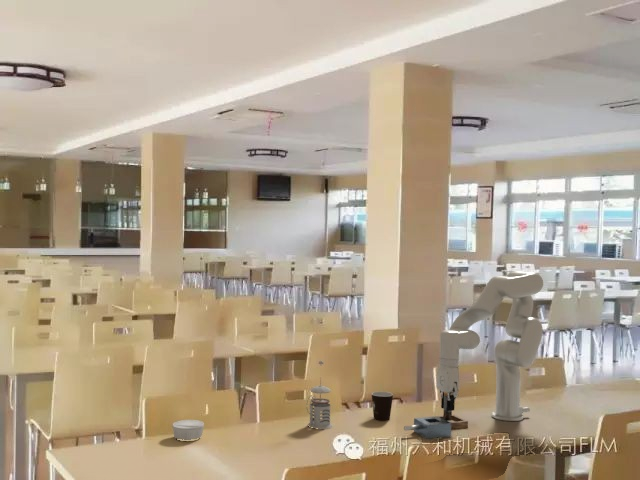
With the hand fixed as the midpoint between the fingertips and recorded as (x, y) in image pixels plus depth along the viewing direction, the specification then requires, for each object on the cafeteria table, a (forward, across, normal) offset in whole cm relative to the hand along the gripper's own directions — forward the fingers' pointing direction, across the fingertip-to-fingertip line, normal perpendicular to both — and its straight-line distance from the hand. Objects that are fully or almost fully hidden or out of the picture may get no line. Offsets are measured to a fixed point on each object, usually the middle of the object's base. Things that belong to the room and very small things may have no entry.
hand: (447, 408), depth 277 cm
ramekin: (+7, -12, -99) cm, 100 cm away
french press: (+7, -13, -49) cm, 51 cm away
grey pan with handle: (+6, +9, -15) cm, 19 cm away
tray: (+6, 0, 0) cm, 6 cm away
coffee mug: (+7, -17, -20) cm, 27 cm away
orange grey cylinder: (+4, 0, 0) cm, 4 cm away
